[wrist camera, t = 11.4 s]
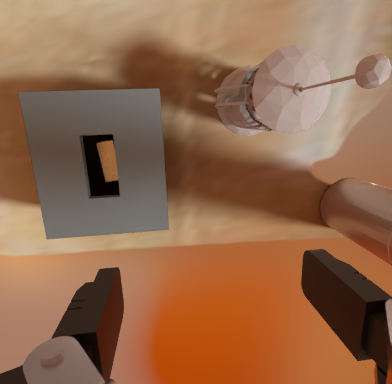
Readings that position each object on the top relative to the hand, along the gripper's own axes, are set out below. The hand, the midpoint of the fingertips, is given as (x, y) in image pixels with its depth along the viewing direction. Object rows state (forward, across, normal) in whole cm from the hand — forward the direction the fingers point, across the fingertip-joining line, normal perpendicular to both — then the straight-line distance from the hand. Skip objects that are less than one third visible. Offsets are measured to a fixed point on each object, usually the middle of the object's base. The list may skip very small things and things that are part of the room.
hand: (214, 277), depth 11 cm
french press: (+30, -10, -9) cm, 33 cm away
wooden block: (+30, +9, -2) cm, 31 cm away
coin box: (+30, +9, -2) cm, 31 cm away
